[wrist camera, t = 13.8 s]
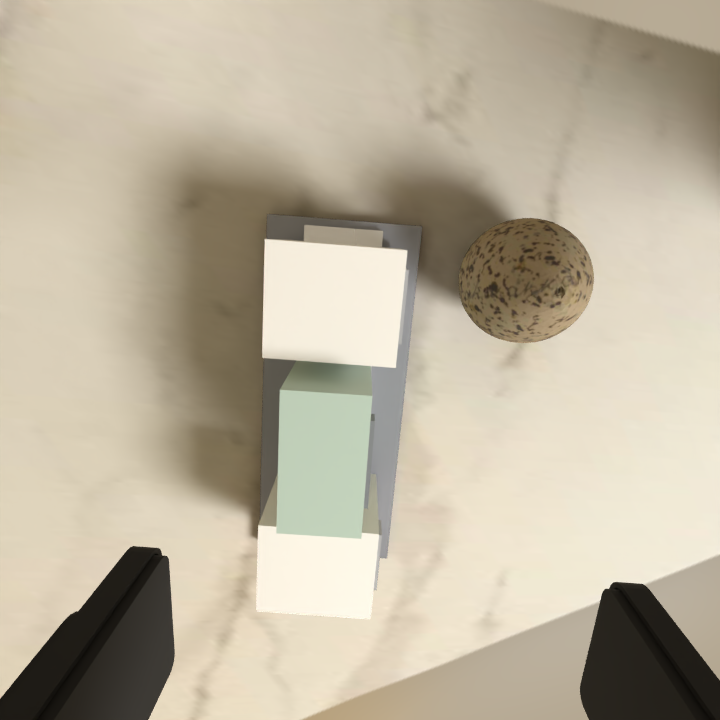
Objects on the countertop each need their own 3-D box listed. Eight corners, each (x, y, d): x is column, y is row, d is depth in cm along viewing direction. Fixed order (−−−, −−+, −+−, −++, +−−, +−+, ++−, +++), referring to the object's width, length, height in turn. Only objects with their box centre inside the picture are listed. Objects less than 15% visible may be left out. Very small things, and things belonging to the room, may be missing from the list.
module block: (373, 352, 31) (377, 396, 22) (365, 460, 33) (365, 539, 24) (303, 348, 31) (279, 389, 22) (299, 455, 33) (276, 533, 24)
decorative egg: (425, 282, 31) (453, 301, 21) (498, 198, 30) (563, 177, 20) (500, 348, 32) (559, 393, 23) (574, 269, 31) (670, 282, 21)
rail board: (420, 226, 30) (441, 220, 22) (386, 550, 36) (392, 641, 28) (270, 214, 30) (234, 204, 22) (261, 540, 36) (231, 629, 28)
